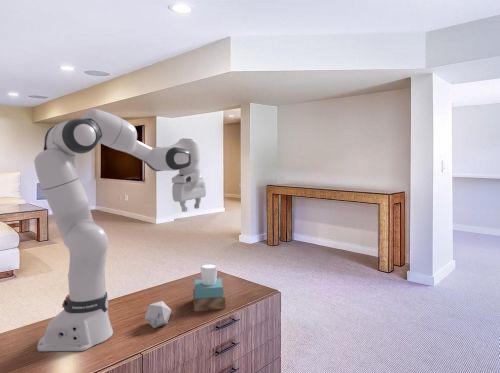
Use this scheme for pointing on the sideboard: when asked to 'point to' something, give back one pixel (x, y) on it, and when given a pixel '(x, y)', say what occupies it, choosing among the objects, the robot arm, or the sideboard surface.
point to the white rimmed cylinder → (209, 274)
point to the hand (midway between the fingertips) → (190, 209)
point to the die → (158, 314)
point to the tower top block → (208, 289)
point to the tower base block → (209, 303)
